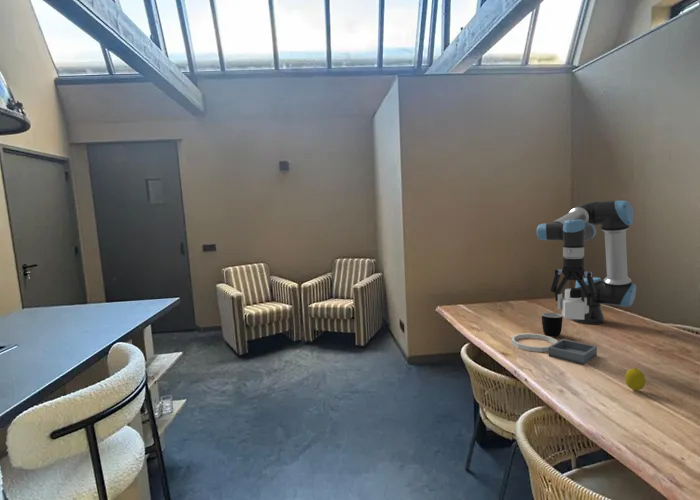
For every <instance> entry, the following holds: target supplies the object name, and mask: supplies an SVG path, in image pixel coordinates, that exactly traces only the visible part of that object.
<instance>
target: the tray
mask: <svg viewBox="0 0 700 500" xmlns="http://www.w3.org/2000/svg"><path fill="white" fill-rule="evenodd" d="M557 341H558V340H557ZM549 346H550V347H549V351H548V357H550V358H554V359H558V360H562V361H566V362H570V363H574V364H578V365H581V366H582V365H583V366H585V365H587V364H588V363H589V362H591V361H592V360H593V359H595V358H596V357H598V356H597V355H598V346H597V345H591V344H586V343H583V342H577V341H573V340H569V339H563V338H562V339H560V340H559V341H558V342H557V343H555V344H553V343H552V345H549Z"/></svg>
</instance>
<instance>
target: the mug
mask: <svg viewBox="0 0 700 500" xmlns="http://www.w3.org/2000/svg"><path fill="white" fill-rule="evenodd" d="M563 318H564V317H563V315H562V313H561V314H560V313H556V312H543V313H541V327H542V331H543V335H545V336H550V337H552V338H558V337H560V335H561V332H562V328H563Z"/></svg>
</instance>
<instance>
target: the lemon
mask: <svg viewBox="0 0 700 500" xmlns="http://www.w3.org/2000/svg"><path fill="white" fill-rule="evenodd" d="M624 381H625V384H626V385H627V387H628V388H630V389H631V390H633V391H634V392H637V391H640V390H642V389H643V388H644V387H645V386H646V377H645V374H644V373H643V372H642V370H641V369H639V368H637V367H634V368H629V369H628V370H627V371H626V372H625V375H624Z"/></svg>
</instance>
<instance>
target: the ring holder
mask: <svg viewBox="0 0 700 500" xmlns="http://www.w3.org/2000/svg"><path fill="white" fill-rule="evenodd" d="M521 339H522V340H523V339H534V340H535V339H536V340H537V339H538V340H543V341H547V342H549V343H552V345H553V344H555V343H557V342H558V339H556V338H555V337H550V336H546V335H545V334H541V333H540V334H539V333H528V332H527V333H517V334H514V335H512V336H511V345H512V346H513V347H516V349H517V348H518V349H519V350H524V351H528V352H534V353H535V352H536V353H547V352H548V353H549V347H550V346H551V345H546V346H537V345H529V344H528V345H527V344H524V343H520V342H518V340H521Z"/></svg>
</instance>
